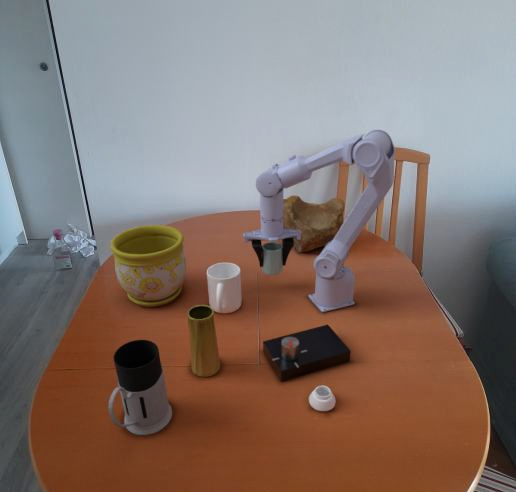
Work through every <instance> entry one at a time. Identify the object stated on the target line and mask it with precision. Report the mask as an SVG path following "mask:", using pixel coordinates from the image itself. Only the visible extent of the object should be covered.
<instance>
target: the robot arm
mask: <svg viewBox="0 0 516 492" xmlns="http://www.w3.org/2000/svg"><path fill="white" fill-rule="evenodd" d="M395 155H396V146H395V144H394V142H393V139H392V137H391V136H390V134H389V133H388V132H387V131H385V130H383V129H373V130H370V131H369V132H368V133H366V135H365V133H361V134H358V135H355V136H353V137H350V138H348V139H345V140H342V141H341V142H339V143H336V144H335V145H332V146H330V147H328V148H326V149H324V150H322V151H320V152H317V153H315V154H314V155H312V156H310V157H307V156H304V155H298V156H297V155H296V154H294V155H291V156H290V157H288V160H286V161H284V162H282V163H275V164H273V165H272V166H271V167H268V169H266V170H265V171H263V172H262V173H260V174H259V175H258V176H257V178H256V180H255V188H256V190H257V192H258V193H259V205H260V206H259V208H260V209H259V211H260V212H259V213H260V214H259V215H260V217H259V218H260V229H258V230H252V231H249V232H243V235H242V236H243V243H245V244H246V243H249V242H251V246H252V247H251V248H252V249H253V251H254V252H255V254H256V257H257V259H258V263H259V267H260V268H262V267H263V262H262V245H263V244H262V241H269V242H277V243H278V242H279V240H281V244H282V245H283V267H284V266H286V264H287V260H288V257H289V255H290V252H291V251H292V249H293V248H294V247H295V246H294V241H293V239H297V240H300V239H301V232H300V230H291V229H283V199H284V189H289V188H291V187H293V186H296V185H298V184H301V183H303V182H305V181H308V180H310V179H311V178H312V174H313V172H315V171H317V170H320V169H323V168H326V167H329V166H331V165H334V164H336V163H339V162H343V163H346V164H348V165H351V166H352V165H353V164H354V163H355V165H356V166H357V167H358V169H359V170H360V171H361V173H362V174H363V175H364V177H365V180H366V183H367V185H366V187H365V189H364V190H363V192H362V193H361V195H360V196H359V198H358V199H357V200H356V202H355V204H354V206H353V207H352V209H351V211H350V212H349V214H348V215H347V216H346V218H345V220H343V225H342V226H341V228H340V229H339V231H338V232H337V234H336V236H335V237H334V239H333V240H332V241H330V242H328V243H327V244H326V246H324V248H323V249H322V251H321V252H320V253H319V255H318V256H316V257H315V259H314V261H313V269H314V272H315V285H314V293H311V294H308V296H307V297H308V298H309V300H310V301H311V302H312V303H313V304H314V305H315V306H316V307H317V309H319V311H320V312H321V313H326V312H329V311H334V310H337V309H342V308H346V307H349V306H354V305H355V304H356V303H355V300H354V296H355V295H354V294H355V285H356V278H355V274H354V272H353V270H352V269H351V268H350V267H348V266H345V264H344V263H345V262H346V260H347V259H348V258H349V253H350V249H351V248H352V246H353V244H354V243H355V241H356V240H357V238H358V237H359V236H360V234H361V232H362V231H363V230H364V228H365V227H366V225H367V223H368V222H369V221H370V220H371V218H372V217H373V215H374V213H375V212H376V210H377V209H378V208H379V206H380V204H381V203H382V202H383V200H384V198H385V197H386V196H387V195H388V193H389V191H390V189H391V188H392V186H393V185H394V182H395Z"/></svg>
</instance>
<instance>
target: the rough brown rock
mask: <svg viewBox="0 0 516 492" xmlns="http://www.w3.org/2000/svg"><path fill="white" fill-rule="evenodd" d="M345 207H346V204H345V201H344V200H343V199H341V198H337V197H335V198H330V199H329V200H327V201H325V202H323V203H311V202H306V201H304V200H303V199H302V198H301V197H300V196H299V195H289V196H288V197H287V198H283V229H291V230H300V232H301V239H300V240H297V239H293V241H294V246H293V247H294V248H295V250H296V252H297V253H300V254H302V253H307V252H311V251H312V250H315V249H318V248H321V247H325V246H326V244H327V243H328V242H330V241H332V240H333V239H334V237H335V236H336V234H337V232H338V231H339V229H340V228H341V226H342V225H343V223H344V212H345Z"/></svg>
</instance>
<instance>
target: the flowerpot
mask: <svg viewBox="0 0 516 492" xmlns="http://www.w3.org/2000/svg"><path fill="white" fill-rule="evenodd" d="M184 238H185V237H184V234H183V233H182V232H181V230H179V229H177V228H175V227H173V226H169V225H163V224H147V225H140V226H135V227H132V228H129V229H126V230H123V231H121V232H119V233H117V235H115V236H114V237H113V238H112V239H111V241H110V244H109V246H110V250H111V252H112V254H113V255H112V256H113V258H114V268H115V275H116V278H117V281H118V283H119V285H120V286H121V288H122V289H123V290H124V291H125V293H126V294H127V297H128V299H129V300H130V301H131V302H133V303H135V304H136V305H138V306H141V307H147V308H153V307H160V306H164V305H167V304H169V303H171V302H173V301H174V300H175V299H176V298H177V297H178V296H179V295H180V293H181V291H182V289H183V285H182V284H183V283H184V281H185V278H186V272H187V262H186V255H185V251H184V244H183V243H184Z"/></svg>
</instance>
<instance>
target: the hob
mask: <svg viewBox="0 0 516 492" xmlns="http://www.w3.org/2000/svg"><path fill="white" fill-rule="evenodd" d="M286 337H294V338H296V339H298V341H299V357H298V358H297V359H296V360H294V361H287V360H284V359H283V358H282V356H281V342H282V340H283V339H284V338H286ZM262 352H263V354H264V356H265V357H266V359H267V361H268V362H269V364H270V366H271V367H272V369H273V371H274V372H275V374H276V377H278V379H279V381H280V382H286V381H289V380H292V379H296V378H298V377H302V376H303V377H304V376H305V375H309V374H313V373H316V372H320V371H323V370H327V369H329V368H333V367H336V366H339V365H343V364H347V363H350V362H351V353H352V350H351V349H350V348H349V346H347V345H346V343H345V342H344V341H343V340H342V338H340V337H339V335H338V334H337V333H336V332H335V331H334V329H333V328H331V326H330V325H329V324H324V325H320V326H316V327H314V328H313V327H312V328H309V329H305V330H301V331H297V332H292V333H289V334H286V335H282V336H278V337H274V338H271V339H267V340H263V341H262Z"/></svg>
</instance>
